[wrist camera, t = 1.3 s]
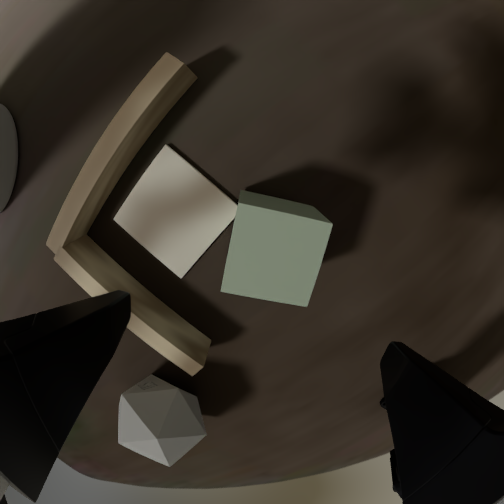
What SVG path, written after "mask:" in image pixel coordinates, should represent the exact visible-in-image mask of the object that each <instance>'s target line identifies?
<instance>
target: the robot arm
mask: <svg viewBox="0 0 504 504" xmlns="http://www.w3.org/2000/svg"><path fill="white" fill-rule="evenodd" d="M130 318H131V295H130V293H129V292H126V291H122V290H116V291H113V292H109V293H105V294H102V295H98V296H95V297H91V298H88V299H84V300H81V301H77V302H74V303H70V304H67V305H63V306H60V307H56V308H53V309H49V310H46V311H42V312H39V313H37V314H36V313H35V314H32V315H28V316H24V317H21V318H17V319H13V320H8V321H4V322H0V504H7V501H6V498H5V495H4V493H5V491H6V490H7V487H8V486H9V485H10V486H11V487H13V488H14V489H15V490H17V491H18V492H20V493H21V494H23V495H24V496H25V497H27V498H28V499H30V500H31V501H33V502H36V501H37V499H38V497H39V494H40V492H41V490H42V488H43V485H44V483H45V481H46V479H47V477H48V475H49V473H50V471H51V468H52V466H53V464H54V462H55V460H56V458H57V456H58V454H59V452H60V450H61V448H62V446H63V444H64V442H65V440H66V438H67V436H68V434H69V432H70V431H71V429H72V427H73V425H74V423H75V421H76V419H77V418H78V416H79V414H80V412H81V410H82V408H83V407H84V405H85V403H86V401H87V399H88V398H89V396H90V394H91V392H92V391H93V389H94V387H95V385H96V384H97V382H98V380H99V379H100V377H101V375H102V374H103V372H104V370H105V368H106V367H107V365H108V363H109V362H110V360H111V358H112V357H113V355H114V353H115V351H116V349H117V347H118V345H119V342H120V340H121V338H122V336H123V334H124V331H125V329H126V327H127V325H128V323H129V321H130ZM380 368H381V375H382V383H383V391H384V398H383V399H382V400H381V401H380V405H381V407H383V408H384V409H386V410H387V413H388V418H389V422H390V427H391V432H392V437H393V443H394V448H395V449H393V450H391V451H390V455H391V458H390V462H391V471H392V481H393V490H394V492H397V493H398V494H399V496H400V497H401V498H402V500H403V504H504V410H503V409H501V408H499V407H498V406H496V405H494V404H493V403H491V402H489V401H488V400H486V399H485V398H483V397H482V396H480V395H479V394H477V393H476V392H474V391H473V390H471V389H470V388H468V387H467V386H465V385H464V384H462V383H461V382H459V381H458V380H457V379H455V378H454V377H452V376H451V375H449V374H448V373H446V372H445V371H443V370H442V369H440V368H439V367H437V366H436V365H434V364H433V363H431V362H430V361H429V360H427V359H426V358H424V357H423V356H421V355H420V354H418V353H417V352H415V351H414V350H412V349H411V348H409V347H408V346H406V345H405V344H403V343H402V342H395V341H392V342H391V343H390V344H389V345H388V347H387V349H386V351H385V353H384V355H383V357H382V359H381V362H380Z"/></svg>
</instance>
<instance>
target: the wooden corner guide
mask: <svg viewBox="0 0 504 504" xmlns="http://www.w3.org/2000/svg"><path fill="white" fill-rule="evenodd" d="M197 78H198V77H197V76H196V75H195V74H194V73H193V72H192V71H191V70H190V69H189V68H188V67H187V66H186V65H185V64H184V63H183V62H181V61H180V60H178V59H177V58H175V57H174V56H172V55H171V54H169V53H168V52H166V53H165V54H164V55H163V56H162V58H161V59H160V60H159V61H158V62H157V63H156V64H155V65H154V67H153V68H152V69H151V70H150V71H149V73H148V74H147V75H146V76H145V77H144V79H143V80H142V81H141V82H140V83H139V85H138V86H137V87H136V89H135V90H134V91H133V92H132V94H131V95H130V96H129V98H128V99H127V100H126V102H125V103H124V104H123V106H122V107H121V108H120V110H119V111H118V113H117V114H116V116H115V117H114V118H113V120H112V121H111V123H110V124H109V126H108V127H107V129H106V130H105V132H104V133H103V135H102V136H101V138H100V139H99V141H98V143H97V144H96V146H95V147H94V149H93V151H92V152H91V154H90V156H89V157H88V159H87V161H86V163H85V164H84V166H83V168H82V170H81V171H80V173H79V175H78V177H77V179H76V181H75V182H74V184H73V186H72V188H71V190H70V192H69V194H68V196H67V198H66V200H65V202H64V204H63V206H62V208H61V210H60V212H59V215H58V217H57V219H56V221H55V223H54V226H53V228H52V230H51V233H50V235H49V237H48V240H47V242H46V245H47V246H48V247H49V248H50V249H51V250H52V251H53V252H54V253H55V254H56V255H55V258H54V260H55V261H56V262H57V263H58V264H59V265H60V266H61V267H62V268H63V269H64V270H65V271H66V272H67V273H68V274H69V275H70V276H71V277H72V278H73V279H74V280H75V281H76V282H77V283H78V284H79V285H80V286H81V287H82V288H83V289H84V290H85V291H86V292H87V293H88V294H89V295H90V296H92V297H95V296H98V295H102V294H105V293H109V292H113V291H116V290H122V291H126V292H129V293H130V295H131V318H130V321H129V323H128V325H127V328H128V329H130V330H131V331H132V332H133V333H134V334H136V335H137V336H138V337H139V338H141V339H142V340H143V341H145V342H146V343H147V344H148V345H150V346H151V347H152V348H154V349H155V350H156V351H158V352H159V353H160V354H162V355H163V356H164V357H166V358H167V359H169V360H170V361H171V362H173V363H174V364H176V365H177V366H178V367H180V368H181V369H183V370H184V371H186V372H187V373H188V374H190V375H191V376H193V375H195V374H196V373H197V372H198V371H199V370H201V369H202V368H203V367H204V364H205V361H206V357H207V354H208V350H209V347H210V344H211V339H209V338H208V337H207V336H205V335H204V334H203V333H201V332H200V331H199V330H197V329H196V328H195V327H193V326H192V325H191V324H189V323H188V322H187V321H186V320H184V319H183V318H182V317H180V316H179V315H178V314H177V313H175V312H174V311H173V310H172V309H170V308H169V307H168V306H167V305H165V304H164V303H163V302H162V301H160V300H159V299H158V298H157V297H156V296H154V295H153V294H152V293H151V292H150V291H148V290H147V289H146V288H145V287H144V286H143V285H141V284H140V283H139V282H138V281H137V280H136V279H134V278H133V277H132V276H131V275H130V274H129V273H128V272H126V271H125V270H124V269H123V268H122V267H121V266H120V265H119V264H118V263H116V262H115V261H114V260H113V259H112V258H111V257H110V256H109V255H108V254H107V253H106V252H104V251H103V250H102V249H101V248H100V247H99V246H98V245H97V244H96V243H95V242H94V241H93V240H92V239H91V238H90V237H89V236H88V235H87V233H88V231H89V229H90V227H91V225H92V224H93V222H94V220H95V218H96V216H97V215H98V213H99V211H100V210H101V208H102V206H103V205H104V203H105V201H106V200H107V198H108V196H109V195H110V193H111V191H112V190H113V188H114V187H115V185H116V184H117V182H118V180H119V179H120V177H121V176H122V174H123V173H124V171H125V170H126V168H127V167H128V165H129V164H130V163H131V161H132V160H133V158H134V157H135V155H136V154H137V153H138V151H139V150H140V148H141V147H142V146H143V144H144V143H145V141H146V140H147V139H148V137H149V136H150V135H151V133H152V132H153V131H154V130H155V128H156V127H157V126H158V124H159V123H160V122H161V121H162V119H163V118H164V117H165V116H166V114H167V113H168V112H169V111H170V109H171V108H172V107H173V106H174V105H175V103H176V102H177V101H178V100H179V99H180V98H181V96H182V95H183V94H184V93H185V92H186V91H187V89H188V88H189V87H190V86H191V85H192V84H193V83H194V82H195V81H196V79H197ZM237 206H238V205H237V204H236V203H235V202H234V201H233V200H232V199H230V198H229V197H228V196H227V195H226V194H225V193H224V192H222V191H221V190H220V189H219V188H218V187H217V186H215V185H214V184H213V183H212V182H211V181H210V180H208V179H207V178H206V177H205V176H204V175H203V174H201V173H200V172H199V171H198V170H197V169H196V168H194V167H193V166H192V165H191V164H190V163H188V162H187V161H186V160H185V159H184V158H183V157H181V156H180V155H179V154H178V153H177V152H175V151H174V150H173V149H172V148H171V147H169V146H168V145H165V146H164V147H163V148H162V150H161V151H160V152H159V154H158V155H157V156H156V158H155V159H154V160H153V162H152V163H151V164H150V166H149V167H148V169H147V170H146V171H145V173H144V174H143V176H142V177H141V178H140V180H139V181H138V183H137V184H136V186H135V187H134V188H133V190H132V191H131V193H130V194H129V196H128V197H127V199H126V200H125V202H124V203H123V205H122V207H121V208H120V210H119V211H118V213H117V214H116V216H115V218H114V219H113V220H115V221H116V222H117V223H118V224H119V225H120V226H121V227H122V228H123V229H124V230H125V231H127V232H128V233H129V234H130V235H131V236H132V237H133V238H134V239H135V240H137V241H138V242H139V243H140V244H141V245H142V246H143V247H144V248H146V249H147V250H148V251H149V252H150V253H151V254H152V255H154V256H155V257H156V258H157V259H158V260H159V261H161V262H162V263H163V264H164V265H165V266H166V267H168V268H169V269H170V270H171V271H172V272H174V273H175V274H176V275H177V276H178V277H180V278H182V277H183V276H184V275H185V274H186V273H187V271H188V270H189V269H190V268H191V267H192V266H193V264H194V263H195V262H196V261H197V260H198V259H199V257H200V256H201V255H202V254H203V253H204V252H205V251H206V249H207V248H208V247H209V246H210V245H211V244H212V243H213V241H214V240H215V239H216V238H217V237H218V236H219V235H220V233H221V232H222V231H223V230H224V229H225V228H226V227H227V226H228V224H229V223H230V222H231V221H232V220H233V219H234V218H235V216H236V211H237Z"/></svg>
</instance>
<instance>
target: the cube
mask: <svg viewBox="0 0 504 504" xmlns="http://www.w3.org/2000/svg"><path fill="white" fill-rule="evenodd" d="M332 226H333V224H332V223H331V222H330V221H329V220H328V219H327V218H326V217H325V216H324V215H322V214H321V213H320V212H319V211H318V210H317V209H316V208H314V207H313V206H310V205H306V204H302V203H298V202H294V201H289V200H285V199H281V198H276V197H272V196H267V195H262V194H258V193H253V192H248V191H243V190H241V192H240V197H239V201H238V206H237V211H236V216H235V221H234V225H233V230H232V235H231V240H230V245H229V250H228V255H227V260H226V266H225V271H224V276H223V282H222V287H221V292H226V293H231V294H236V295H242V296H247V297H252V298H258V299H264V300H269V301H275V302H281V303H287V304H293V305H299V306H305V307H307V305H308V302H309V299H310V296H311V294H312V291H313V287H314V284H315V281H316V278H317V275H318V272H319V269H320V266H321V263H322V259H323V256H324V253H325V250H326V246H327V243H328V239H329V236H330V233H331V229H332Z"/></svg>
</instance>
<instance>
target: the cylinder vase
mask: <svg viewBox="0 0 504 504" xmlns="http://www.w3.org/2000/svg"><path fill="white" fill-rule="evenodd" d="M17 165H18V139H17V132H16V127H15V123H14V120H13V118H12V115H11V114H10V112H9V110H8V109H7V108H6V107H5V106H4V105H2V104H0V213H1V212H2V210H3V209H4V208H5V206H6V205H7V203H8V201H9V199H10V196H11V193H12V190H13V187H14V183H15V179H16V173H17Z"/></svg>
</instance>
